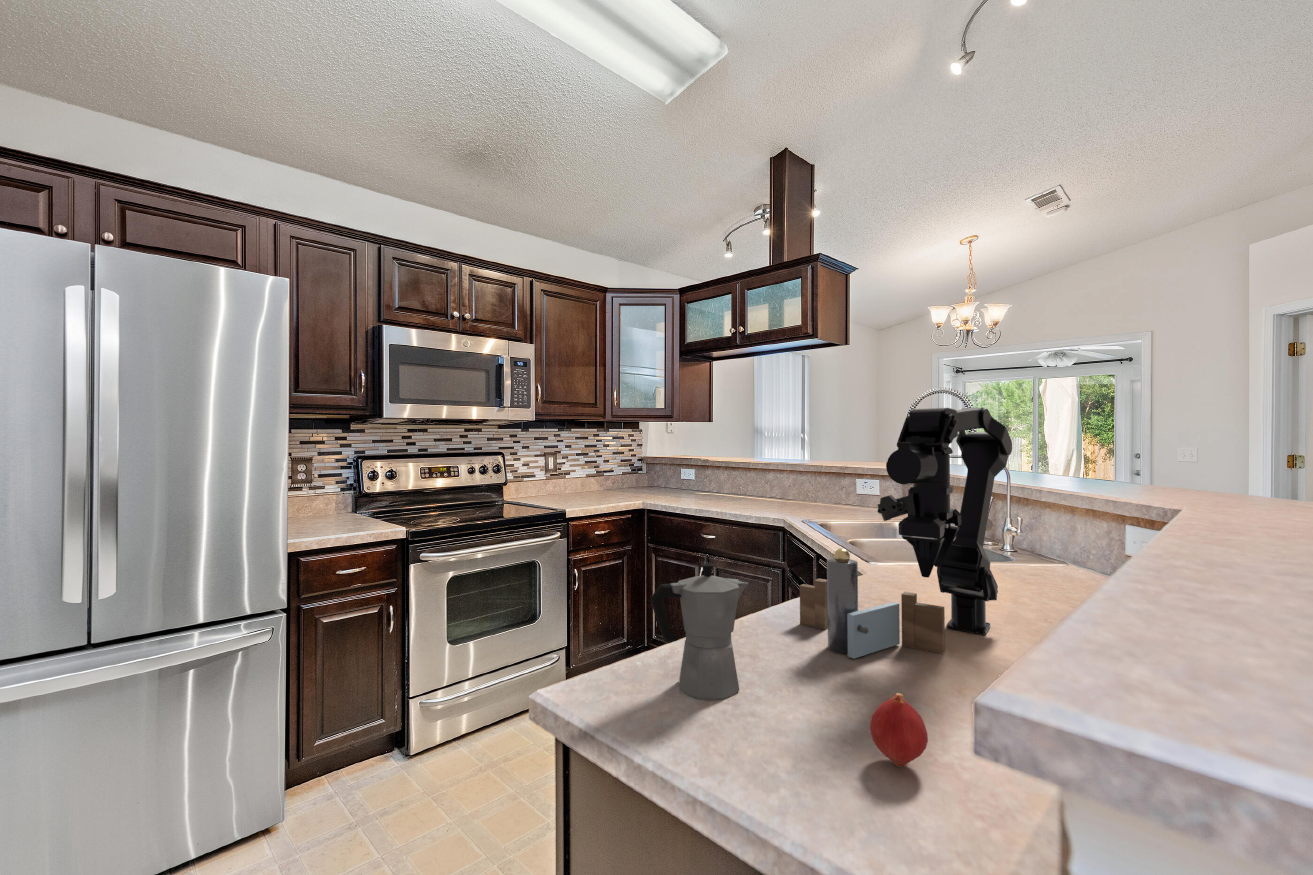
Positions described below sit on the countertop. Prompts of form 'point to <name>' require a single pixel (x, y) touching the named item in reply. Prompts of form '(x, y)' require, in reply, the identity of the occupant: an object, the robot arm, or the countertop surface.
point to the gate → (873, 629)
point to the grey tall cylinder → (841, 598)
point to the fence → (918, 619)
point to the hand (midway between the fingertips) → (931, 571)
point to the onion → (898, 731)
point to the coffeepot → (704, 632)
